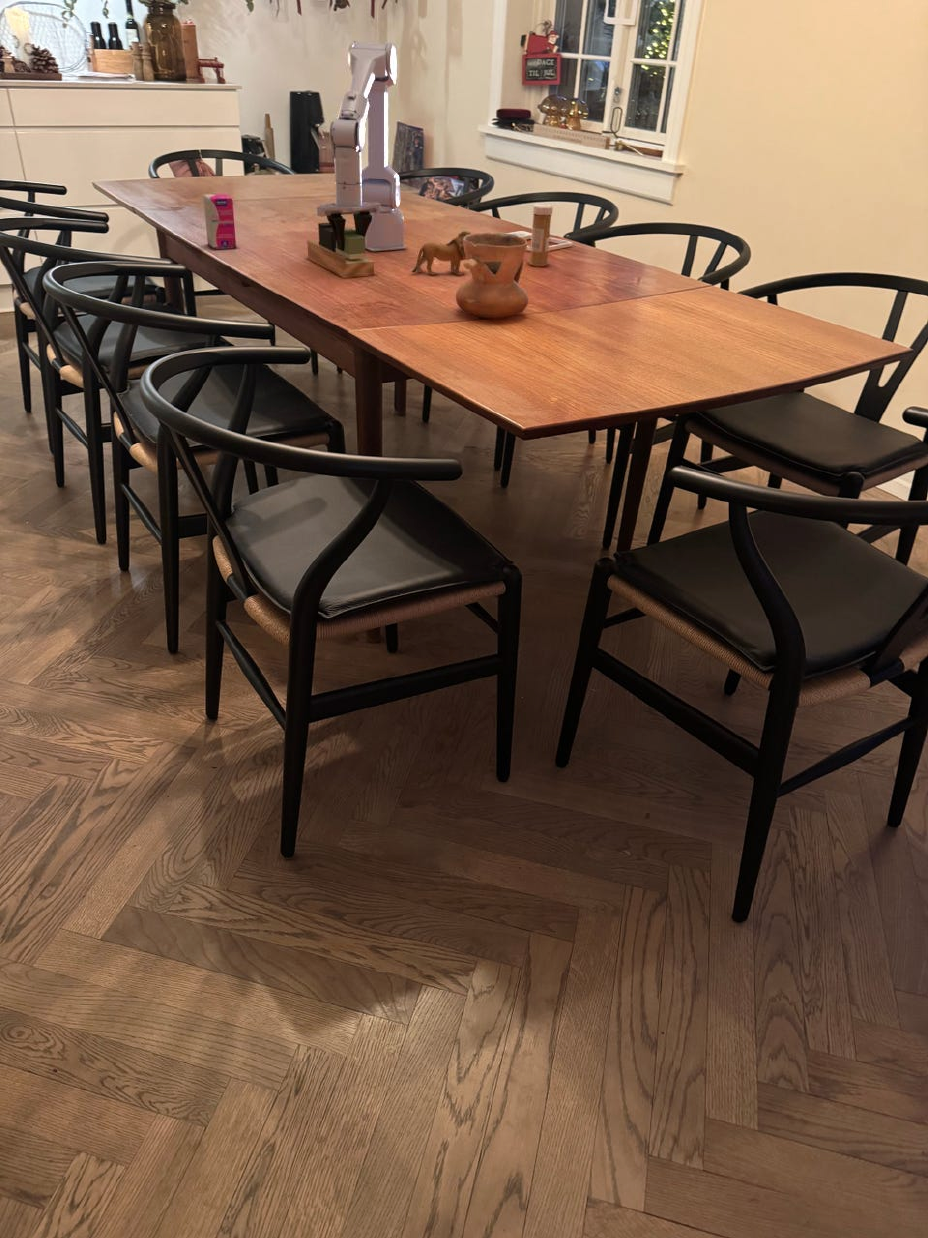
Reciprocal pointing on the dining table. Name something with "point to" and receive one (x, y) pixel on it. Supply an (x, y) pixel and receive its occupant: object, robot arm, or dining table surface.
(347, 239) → the green block
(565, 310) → the dining table surface
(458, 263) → the lion figurine
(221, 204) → the supplement box
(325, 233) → the black block
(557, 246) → the photo frame
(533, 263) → the sprinkles bottle
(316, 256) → the wooden tray
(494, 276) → the ceramic jug
